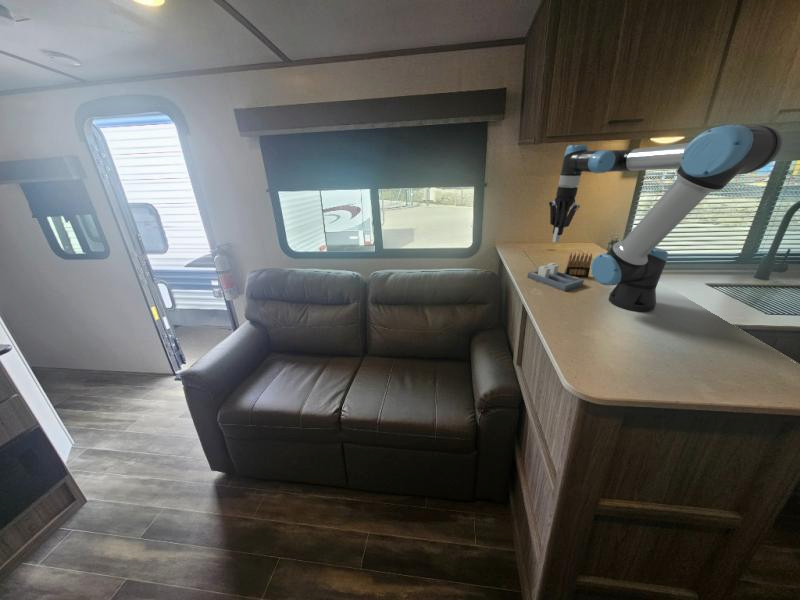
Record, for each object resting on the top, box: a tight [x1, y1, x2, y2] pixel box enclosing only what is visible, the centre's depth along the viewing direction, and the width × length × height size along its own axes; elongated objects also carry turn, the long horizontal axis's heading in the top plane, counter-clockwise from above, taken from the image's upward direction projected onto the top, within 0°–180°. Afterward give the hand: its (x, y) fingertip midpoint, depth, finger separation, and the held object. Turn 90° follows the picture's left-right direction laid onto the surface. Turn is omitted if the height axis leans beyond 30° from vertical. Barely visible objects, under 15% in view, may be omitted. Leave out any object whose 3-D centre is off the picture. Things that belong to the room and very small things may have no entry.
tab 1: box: [537, 265, 551, 278], centre depth 143 cm, size 4×3×6 cm
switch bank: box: [527, 269, 585, 292], centre depth 143 cm, size 20×13×3 cm, turn 28°
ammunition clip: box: [563, 252, 593, 278], centre depth 146 cm, size 11×2×12 cm, turn 79°
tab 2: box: [546, 262, 560, 275], centre depth 146 cm, size 4×3×6 cm
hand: (555, 241), depth 136 cm, fingers closed
